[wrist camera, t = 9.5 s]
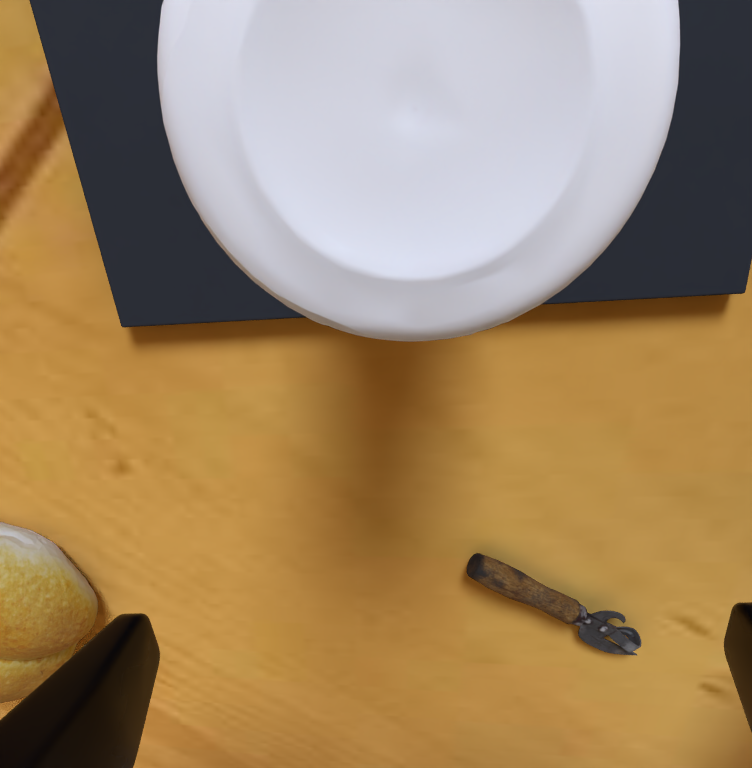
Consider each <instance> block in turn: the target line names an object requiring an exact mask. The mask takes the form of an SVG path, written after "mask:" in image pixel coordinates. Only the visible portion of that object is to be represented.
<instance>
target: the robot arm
mask: <svg viewBox="0 0 752 768" xmlns="http://www.w3.org/2000/svg"><path fill="white" fill-rule="evenodd" d="M724 651H725V656H726V659H727V662H728V665H729V668H730V671H731V674H732V677H733V680H734V683H735V686H736V688H737V691H738V694H739V697H740V700H741V703H742V706H743V709H744V712H745V715H746V718H747V721H748V724H749V726H750V729H751V732H752V602H751V603H737V604H735V605H734V606H733V608H732V611H731V615H730V619H729V623H728V627H727V631H726V635H725V639H724ZM159 660H160V651H159V646H158V643H157V640H156V637H155V634H154V631H153V628H152V626H151V623H150V620H149V618H148V616H147V615H145V614H142V613H140V614H122V615H119V616H118V617H116V618H115V619H114V620H113V621H112V622H110V623H109V624H108V625H107V626H106V627H105V628H104V629H103V630H101V631H100V632H99V633H98V634H97V635H96V636H95V637H93V638H92V639H91V640H90V641H89V642H88V643H87V644H86V645H84V646H83V647H82V648H81V649H80V650H79V651H78V652H77V653H75V654H74V655H73V656H72V657H71V658H70V659H69V660H68V661H66V662H65V663H64V664H63V665H62V666H61V667H60V668H59V669H57V670H56V671H55V672H54V673H53V674H52V675H51V676H50V677H48V678H47V679H46V680H45V681H44V682H43V683H42V684H40V685H39V686H38V687H37V688H36V689H35V690H34V691H33V692H31V693H30V694H29V695H28V696H27V697H26V698H25V699H24V700H22V701H21V702H20V703H19V704H18V705H17V706H16V707H15V708H13V709H12V710H11V711H10V712H9V713H8V714H7V715H6V716H4V717H3V718H2V719H1V720H0V768H133V766H134V763H135V759H136V756H137V752H138V748H139V744H140V740H141V736H142V732H143V728H144V724H145V720H146V715H147V711H148V707H149V703H150V699H151V695H152V691H153V687H154V682H155V678H156V674H157V670H158V666H159Z"/></svg>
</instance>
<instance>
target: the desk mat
mask: <svg viewBox="0 0 752 768" xmlns="http://www.w3.org/2000/svg"><path fill="white" fill-rule="evenodd" d="M163 1H164V0H30V4H31V7H32V11H33V14H34V18H35V21H36V25H37V28H38V32H39V35H40V39H41V43H42V46H43V50H44V53H45V57H46V60H47V64H48V67H49V71H50V74H51V78H52V82H53V85H54V89H55V92H56V96H57V99H58V103H59V106H60V110H61V113H62V117H63V121H64V124H65V128H66V131H67V135H68V138H69V142H70V145H71V149H72V152H73V156H74V160H75V163H76V167H77V170H78V174H79V177H80V181H81V184H82V188H83V192H84V195H85V199H86V202H87V206H88V209H89V213H90V216H91V220H92V223H93V227H94V231H95V234H96V238H97V241H98V245H99V248H100V252H101V255H102V259H103V262H104V266H105V270H106V273H107V277H108V280H109V284H110V287H111V291H112V294H113V298H114V301H115V305H116V309H117V312H118V316H119V319H120V323H121V326H122V327H137V326H155V325H173V324H192V323H210V322H229V321H247V320H265V319H284V318H302V317H306V316H304V315H302V314H300V313H298V312H296V311H294V310H293V309H291V308H289V307H287V306H286V305H284V304H283V303H282V302H280V301H279V300H277V299H276V298H275V297H273V296H272V295H270V294H269V293H268V292H266V291H265V290H264V289H262V288H261V287H260V286H258V285H257V284H256V283H255V282H254V281H253V280H252V279H251V278H250V277H248V276H247V275H246V274H245V273H244V272H243V271H242V270H241V269H240V268H239V267H238V266H237V265H236V264H235V263H234V262H233V261H232V259H231V258H230V257H229V256H228V255H227V254H226V252H225V251H224V250H223V249H222V248H221V247H220V245H219V244H218V243H217V242H216V240H215V239H214V237H213V236H212V234H211V233H210V232H209V230H208V229H207V227H206V226H205V224H204V223H203V221H202V220H201V218H200V215H199V214H198V212H197V211H196V209H195V207H194V206H193V204H192V202H191V200H190V198H189V196H188V194H187V192H186V190H185V188H184V185H183V183H182V181H181V178H180V176H179V173H178V170H177V168H176V165H175V163H174V160H173V156H172V152H171V149H170V145H169V141H168V138H167V134H166V130H165V127H164V123H163V116H162V109H161V102H160V95H159V84H158V73H157V52H158V36H159V27H160V17H161V8H162V4H163ZM678 5H679V17H680V55H679V77H678V86H677V92H676V98H675V104H674V110H673V115H672V119H671V123H670V127H669V131H668V135H667V138H666V141H665V144H664V147H663V149H662V152H661V155H660V157H659V160H658V163H657V165H656V168H655V171H654V173H653V175H652V177H651V179H650V181H649V183H648V185H647V187H646V189H645V191H644V193H643V195H642V197H641V199H640V200H639V202H638V204H637V206H636V207H635V209H634V211H633V212H632V214H631V216H630V218H629V219H628V220H627V221H626V223H625V225H624V226H623V228H622V229H621V231H620V232H619V233H618V234H617V236H616V237H615V238H614V239H613V241H612V242H611V243H610V244H609V246H608V247H607V248H606V249H605V250H604V251H603V253H602V254H601V255H600V256H599V257H598V258H597V259H596V260H595V261H594V262H593V263H592V264H591V265H590V266H589V267H588V268H587V269H586V270H585V271H584V272H583V273H581V274H580V275H579V276H578V277H577V278H576V279H575V280H574V281H572V282H571V283H570V284H569V285H568V286H567V287H565V288H564V289H563V290H561V291H560V292H558V293H557V294H555V295H554V296H553V297H551V298H550V299H548V300H547V301H545V302H544V303H542V304H559V303H577V302H596V301H614V300H632V299H651V298H669V297H687V296H706V295H724V294H742V293H745V290H746V285H747V280H748V275H749V270H750V265H751V260H752V0H678ZM540 305H541V304H540Z"/></svg>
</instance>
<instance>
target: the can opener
mask: <svg viewBox="0 0 752 768" xmlns="http://www.w3.org/2000/svg"><path fill="white" fill-rule="evenodd" d="M467 575H468V576H469V577H471V578H472V579H474V580H476V581H477V582H479V583H481V584H482V585H484V586H485V587H487V588H489V589H491V590H493V591H495V592H498V593H500V594H502V595H504V596H506V597H508V598H511V599H513V600H516V601H519V602H522V603H524V604H527V605H530V606H532V607H535V608H538V609H540V610H542V611H544V612H545V613H547V614H549V615H551V616H553V617H555V618H557V619H559V620H561V621H563V622H565V623H567V624H574V625H577V626H580V629H579V632H578V634H579V637H580V638H581V639H582V640H583V641H584V642H585V643H587V644H589V645H591V646H593V647H595V648H597V649H599V650H602V651H604V652H608V653H613V654H623V655H637V654H636V653H634V652H633V651H634V650H636V649H638V648H639V647H641V639H640V636H639V634H638V632H637V631H636V630H635V629H633V628H630V627H616V626H614V625H612V624H609V623H607V620H608V619H610V618H617V619H619V620H621V621H622V622H623V623H624V622H625V617H624V616H623V615H622V614H620V613H618V612H615V611H599V612H596V613H593V614H589V613H587V610H586V608H585V607H584V606H582V605H581V604H579V602H578V601H577V600H575V599H573V598H571V597H568V596H566V595H564V594H562V593H560V592H558V591H555V590H553V589H550V588H548V587H546V586H544V585H542V584H541V583H539V582H537V581H536V580H534V579H532V578H531V577H529V576H527V575H526V574H524V573H522V572H521V571H519V570H517V569H515V568H513V567H511V566H509V565H507V564H505V563H503V562H500V561H498V560H496V559H493V558H490V557H488V556H485V555H482V554H479V553H476V554H474V555H473V556H472V557H471V559H470V560H469V563H468V565H467ZM607 635H608V636H609V637H611V638H612V639H613V640H614V641H615V642H616V643H617V644H618V645H617V644H615V643H613V642H610V641H608V640H606V639H604V637H605V636H607ZM624 635H626V636H627V637H628V638H626V637H625V636H624Z"/></svg>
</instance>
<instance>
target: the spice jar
mask: <svg viewBox="0 0 752 768" xmlns="http://www.w3.org/2000/svg"><path fill="white" fill-rule="evenodd" d="M679 55H680V17H679V5H678V0H164V1H163V4H162V8H161V17H160V27H159V36H158V52H157V73H158V84H159V95H160V102H161V109H162V116H163V123H164V127H165V130H166V134H167V138H168V141H169V145H170V149H171V152H172V156H173V160H174V163H175V165H176V168H177V170H178V173H179V176H180V178H181V181H182V183H183V185H184V188H185V190H186V192H187V194H188V196H189V198H190V200H191V202H192V204H193V206H194V207H195V209H196V211H197V212H198V214H199V215H200V218H201V220H202V221H203V223H204V224H205V226H206V227H207V229H208V230H209V232H210V233H211V234H212V236H213V237H214V239H215V240H216V242H217V243H218V244H219V245H220V247H221V248H222V249H223V250H224V251H225V252H226V254H227V255H228V256H229V257H230V258H231V259H232V261H233V262H234V263H235V264H236V265H237V266H238V267H239V268H240V269H241V270H242V271H243V272H244V273H245V274H246V275H247V276H248V277H250V278H251V279H252V280H253V281H254V282H255V283H256V284H257V285H258V286H260V287H261V288H262V289H264V290H265V291H266V292H268V293H269V294H270V295H272V296H273V297H275V298H276V299H277V300H279V301H280V302H282V303H283V304H284V305H286V306H287V307H289V308H291V309H293V310H294V311H296V312H298V313H300V314H302V315H304V316H306V317H307V318H309V319H311V320H313V321H315V322H317V323H320V324H322V325H327V326H330V327H332V328H334V329H338V330H341V331H344V332H347V333H351V334H354V335H358V336H363V337H369V338H374V339H383V340H392V341H409V342H413V341H431V340H441V339H450V338H455V337H461V336H466V335H471V334H473V333H476V332H479V331H483V330H487V329H491V328H493V327H495V326H498V325H500V324H502V323H506V322H509V321H511V320H512V319H514V318H516V317H518V316H520V315H522V314H524V313H526V312H527V311H529V310H531V309H533V308H535V307H537V306H539V305H540V304H542V303H544V302H545V301H547V300H548V299H550V298H551V297H553V296H554V295H555V294H557V293H558V292H560V291H561V290H563V289H564V288H565V287H567V286H568V285H569V284H570V283H571V282H572V281H574V280H575V279H576V278H577V277H578V276H579V275H580V274H581V273H583V272H584V271H585V270H586V269H587V268H588V267H589V266H590V265H591V264H592V263H593V262H594V261H595V260H596V259H597V258H598V257H599V256H600V255H601V254H602V253H603V251H604V250H605V249H606V248H607V247H608V246H609V244H610V243H611V242H612V241H613V239H614V238H615V237H616V236H617V234H618V233H619V232H620V231H621V229H622V228H623V226H624V225H625V223H626V221H627V220H628V219H629V218H630V216H631V214H632V212H633V211H634V209H635V207H636V206H637V204H638V202H639V200H640V199H641V197H642V195H643V193H644V191H645V189H646V187H647V185H648V183H649V181H650V179H651V177H652V175H653V173H654V171H655V168H656V165H657V163H658V160H659V157H660V155H661V152H662V149H663V147H664V144H665V141H666V138H667V135H668V131H669V127H670V123H671V119H672V115H673V110H674V104H675V98H676V92H677V86H678V77H679Z"/></svg>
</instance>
